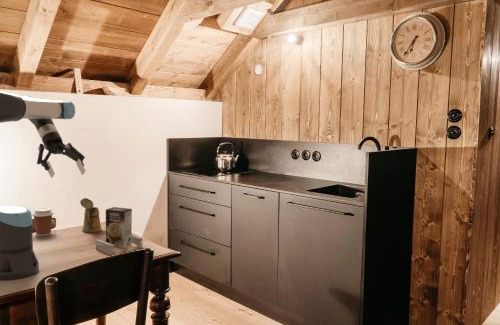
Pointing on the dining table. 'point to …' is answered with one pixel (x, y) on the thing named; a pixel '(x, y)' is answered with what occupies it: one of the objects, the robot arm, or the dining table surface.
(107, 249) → the shallow rail tray
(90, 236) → the dining table surface
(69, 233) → the dining table surface
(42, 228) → the coffee cup
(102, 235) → the dining table surface
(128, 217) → the coffee box
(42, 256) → the dining table surface
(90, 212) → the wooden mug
